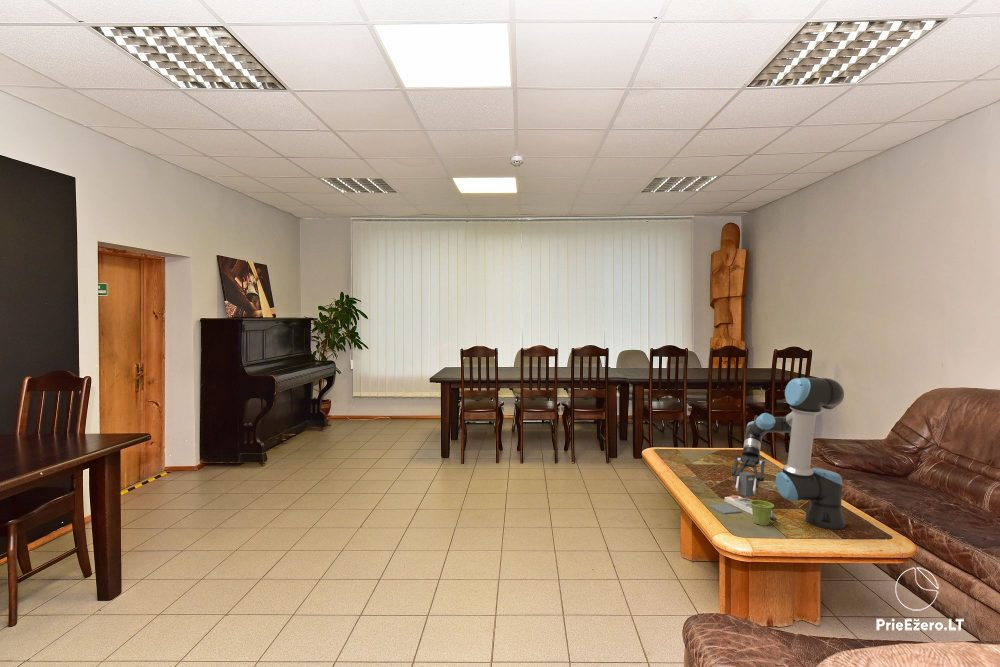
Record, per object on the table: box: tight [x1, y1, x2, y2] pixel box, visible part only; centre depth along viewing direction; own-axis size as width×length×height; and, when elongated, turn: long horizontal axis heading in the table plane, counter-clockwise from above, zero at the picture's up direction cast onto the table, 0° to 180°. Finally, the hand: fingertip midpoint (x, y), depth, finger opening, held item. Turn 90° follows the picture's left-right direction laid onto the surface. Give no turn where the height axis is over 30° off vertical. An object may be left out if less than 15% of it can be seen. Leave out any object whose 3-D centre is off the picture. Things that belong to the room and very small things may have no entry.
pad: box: [708, 503, 743, 515], centre depth 253 cm, size 10×10×1 cm
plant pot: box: [750, 499, 775, 526], centre depth 237 cm, size 9×9×9 cm
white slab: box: [724, 494, 778, 521], centre depth 253 cm, size 28×8×3 cm, turn 17°
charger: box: [738, 471, 756, 498], centre depth 256 cm, size 5×5×10 cm
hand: (745, 490), depth 254 cm, fingers closed on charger, 7 cm apart
